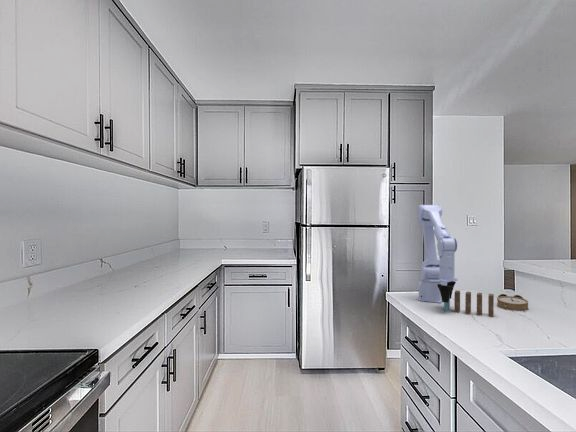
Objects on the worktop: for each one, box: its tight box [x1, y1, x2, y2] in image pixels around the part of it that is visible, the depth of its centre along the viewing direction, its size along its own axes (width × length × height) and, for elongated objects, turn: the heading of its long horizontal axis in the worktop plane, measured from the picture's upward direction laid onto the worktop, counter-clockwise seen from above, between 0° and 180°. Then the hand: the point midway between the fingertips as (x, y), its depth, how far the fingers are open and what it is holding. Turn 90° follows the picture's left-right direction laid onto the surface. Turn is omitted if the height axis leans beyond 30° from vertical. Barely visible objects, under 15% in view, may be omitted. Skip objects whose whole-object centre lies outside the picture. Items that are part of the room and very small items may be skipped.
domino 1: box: [453, 290, 461, 314], centre depth 150 cm, size 2×4×8 cm, turn 149°
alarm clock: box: [496, 293, 529, 312], centre depth 158 cm, size 11×5×15 cm
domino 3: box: [476, 292, 483, 316], centre depth 146 cm, size 2×4×8 cm, turn 149°
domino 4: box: [487, 293, 495, 318], centre depth 144 cm, size 2×4×8 cm, turn 149°
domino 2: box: [464, 291, 472, 315], centre depth 148 cm, size 2×4×8 cm, turn 149°
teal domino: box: [443, 296, 451, 312], centre depth 152 cm, size 2×4×8 cm, turn 150°
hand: (446, 300), depth 152 cm, fingers open, 7 cm apart
